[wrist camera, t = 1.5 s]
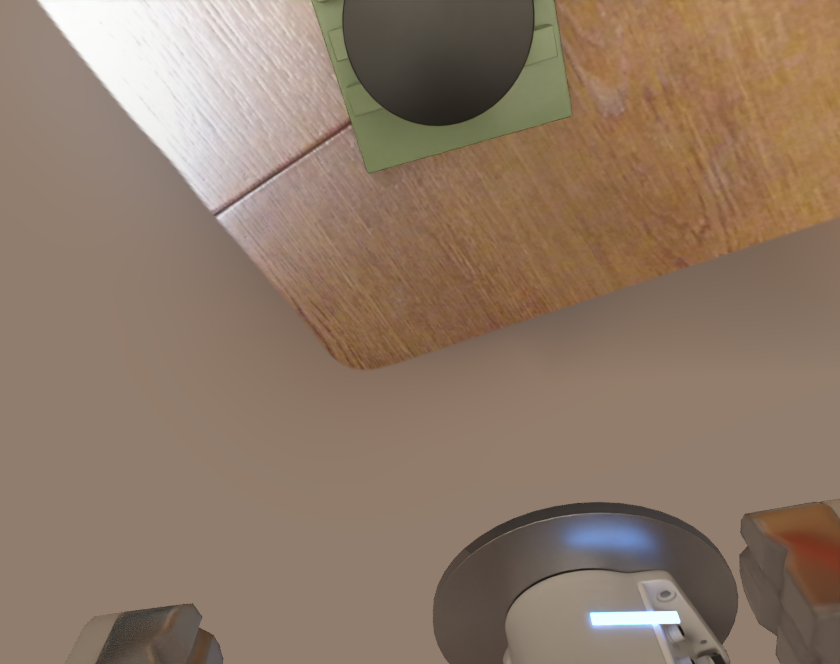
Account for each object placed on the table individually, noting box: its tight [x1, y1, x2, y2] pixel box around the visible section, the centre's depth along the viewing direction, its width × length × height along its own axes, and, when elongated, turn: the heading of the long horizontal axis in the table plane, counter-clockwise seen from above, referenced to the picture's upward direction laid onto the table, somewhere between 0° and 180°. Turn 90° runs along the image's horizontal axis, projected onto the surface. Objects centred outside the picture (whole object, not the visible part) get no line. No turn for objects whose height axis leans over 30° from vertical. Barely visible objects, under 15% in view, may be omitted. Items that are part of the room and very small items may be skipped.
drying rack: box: [312, 0, 572, 173], centre depth 31 cm, size 14×12×5 cm
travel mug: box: [342, 0, 535, 126], centre depth 26 cm, size 7×7×10 cm
